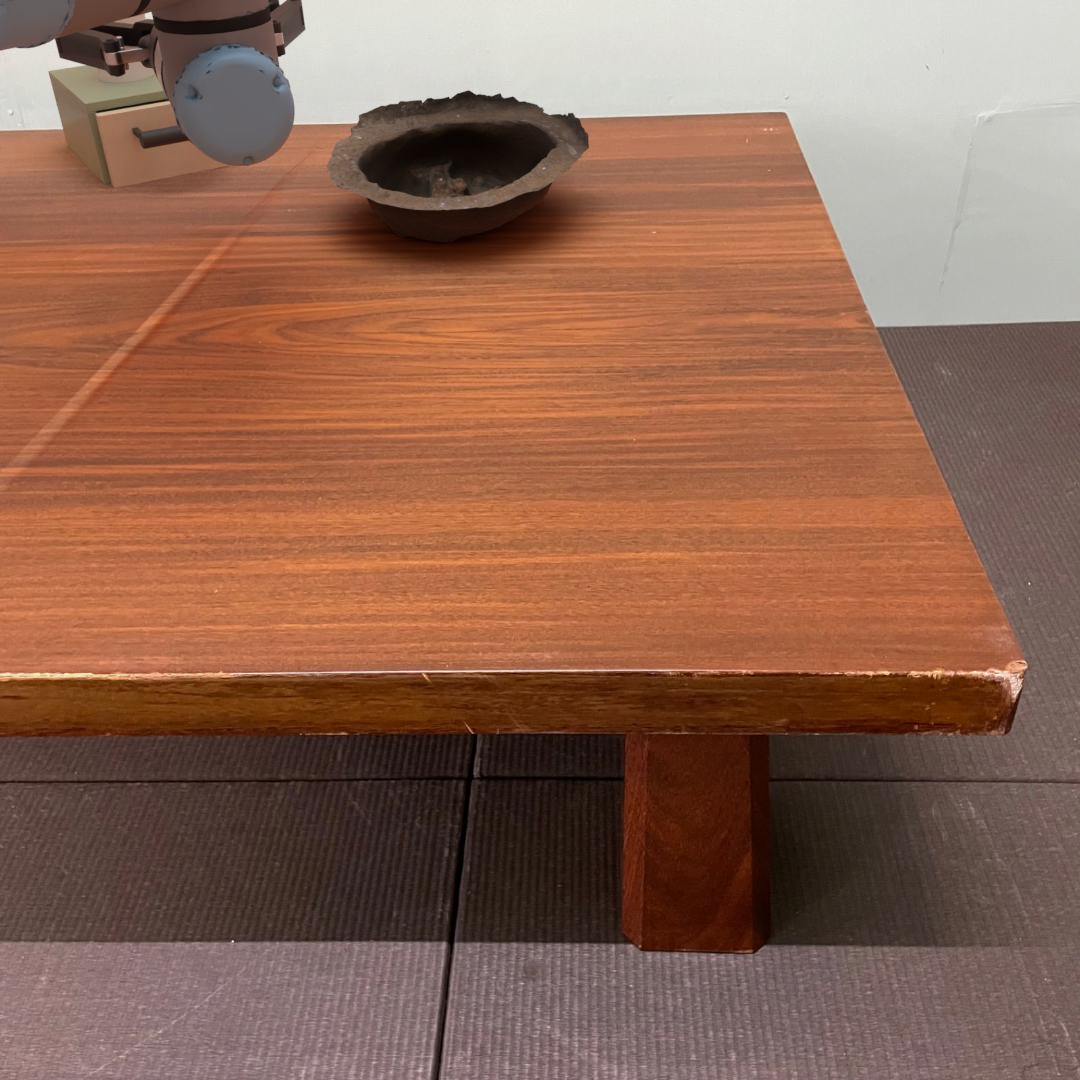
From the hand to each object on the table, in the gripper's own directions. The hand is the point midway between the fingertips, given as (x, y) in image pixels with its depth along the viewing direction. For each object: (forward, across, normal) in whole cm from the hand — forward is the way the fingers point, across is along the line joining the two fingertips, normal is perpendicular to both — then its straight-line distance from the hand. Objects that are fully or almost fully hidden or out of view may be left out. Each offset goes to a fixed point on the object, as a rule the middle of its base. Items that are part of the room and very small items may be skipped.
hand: (171, 10), depth 103 cm
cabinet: (+23, -4, -20) cm, 30 cm away
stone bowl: (-7, +23, -20) cm, 32 cm away
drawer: (+18, -3, -19) cm, 26 cm away
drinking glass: (+23, -4, -10) cm, 25 cm away
